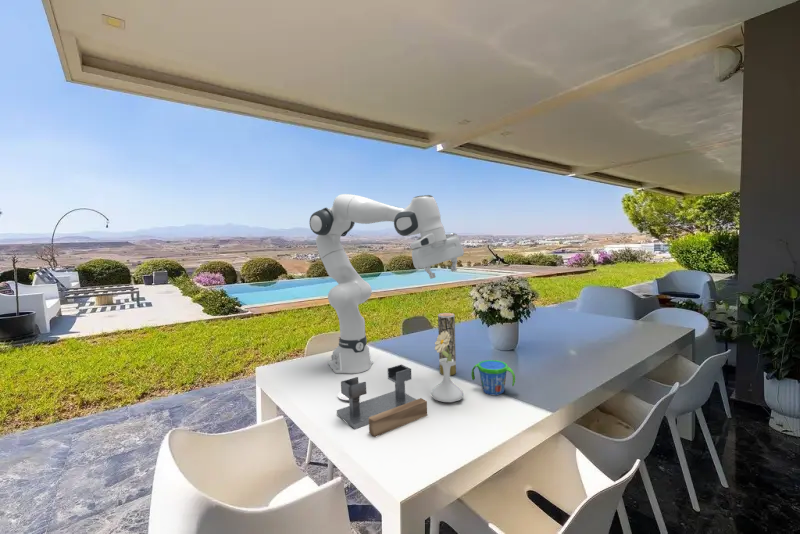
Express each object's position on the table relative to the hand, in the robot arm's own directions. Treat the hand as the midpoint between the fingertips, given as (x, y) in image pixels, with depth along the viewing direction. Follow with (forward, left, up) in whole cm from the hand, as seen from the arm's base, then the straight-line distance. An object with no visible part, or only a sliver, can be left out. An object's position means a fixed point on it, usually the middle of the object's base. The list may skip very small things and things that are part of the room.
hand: (443, 274), depth 133 cm
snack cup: (+12, +11, -44) cm, 47 cm away
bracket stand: (-3, -29, -43) cm, 52 cm away
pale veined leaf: (-18, -32, -44) cm, 57 cm away
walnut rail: (+9, -29, -44) cm, 53 cm away
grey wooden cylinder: (-12, +11, -44) cm, 46 cm away
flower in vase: (+6, -6, -44) cm, 44 cm away
